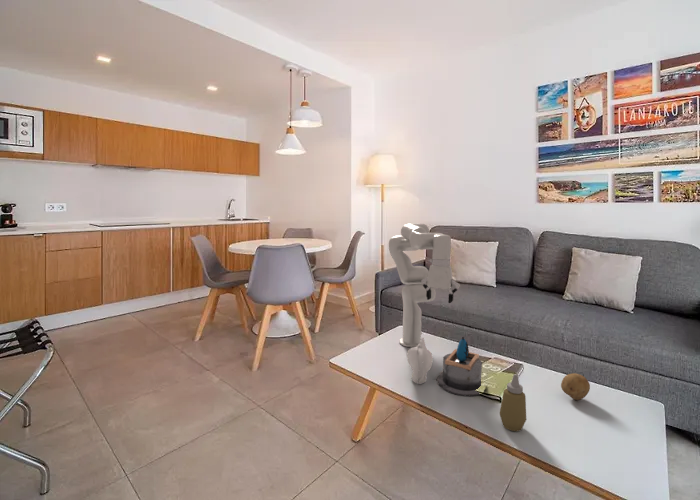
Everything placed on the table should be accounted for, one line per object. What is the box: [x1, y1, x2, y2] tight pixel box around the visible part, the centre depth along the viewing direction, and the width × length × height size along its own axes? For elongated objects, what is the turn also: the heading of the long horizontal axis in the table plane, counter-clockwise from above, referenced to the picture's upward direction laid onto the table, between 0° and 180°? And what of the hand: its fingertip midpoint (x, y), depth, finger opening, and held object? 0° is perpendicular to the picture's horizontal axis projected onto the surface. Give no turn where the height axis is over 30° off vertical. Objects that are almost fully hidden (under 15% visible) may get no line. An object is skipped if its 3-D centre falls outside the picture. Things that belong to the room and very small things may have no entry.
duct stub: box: [437, 348, 483, 397], centre depth 145 cm, size 19×19×12 cm
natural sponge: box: [560, 372, 591, 401], centre depth 135 cm, size 9×9×10 cm
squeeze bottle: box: [499, 374, 527, 432], centre depth 117 cm, size 8×8×18 cm
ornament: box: [456, 336, 470, 362], centre depth 144 cm, size 8×5×10 cm, turn 156°
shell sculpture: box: [406, 337, 434, 385], centre depth 146 cm, size 8×8×18 cm
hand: (439, 300), depth 159 cm, fingers open, 9 cm apart
